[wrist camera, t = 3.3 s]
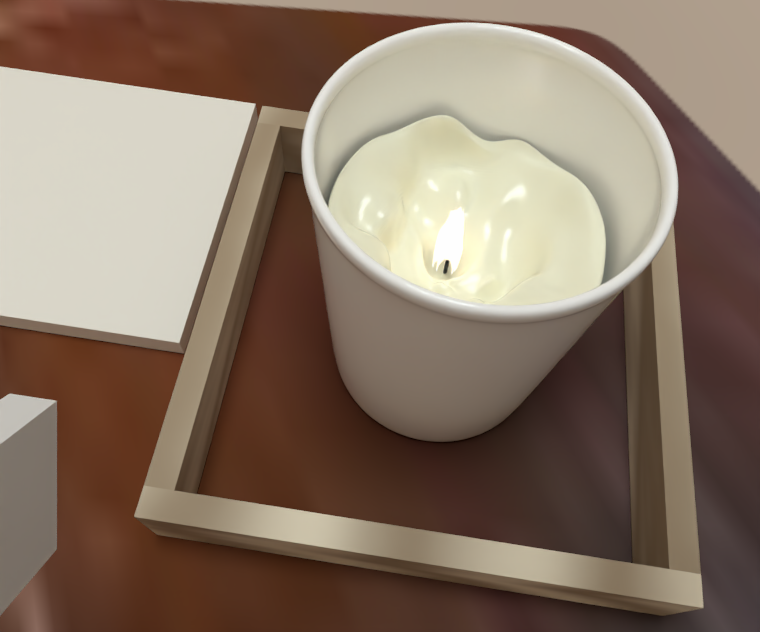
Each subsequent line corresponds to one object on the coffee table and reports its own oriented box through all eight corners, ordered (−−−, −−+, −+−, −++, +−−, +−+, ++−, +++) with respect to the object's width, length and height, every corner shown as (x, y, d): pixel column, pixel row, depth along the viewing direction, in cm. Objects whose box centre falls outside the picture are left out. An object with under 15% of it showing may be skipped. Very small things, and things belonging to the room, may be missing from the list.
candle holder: (350, 227, 31) (355, -9, 20) (563, 276, 30) (685, 59, 19) (285, 428, 26) (248, 258, 15) (535, 491, 25) (675, 359, 15)
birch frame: (641, 207, 32) (668, 165, 29) (662, 615, 24) (703, 608, 21) (268, 152, 32) (262, 105, 30) (156, 534, 24) (133, 516, 21)
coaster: (257, 119, 33) (255, 104, 33) (184, 353, 27) (179, 343, 26) (1, 81, 34) (-8, 65, 33) (-128, 305, 28) (-144, 293, 27)
